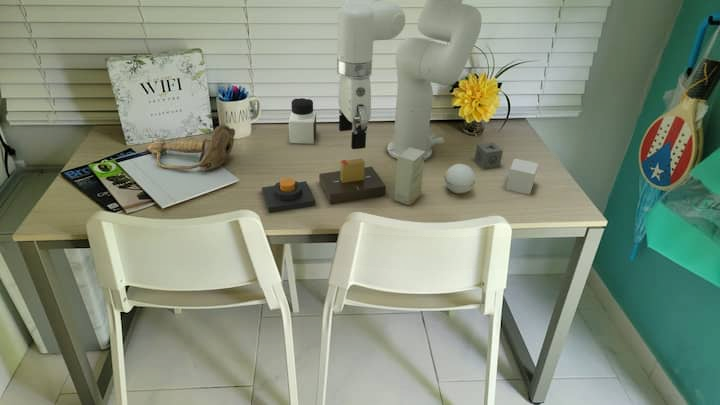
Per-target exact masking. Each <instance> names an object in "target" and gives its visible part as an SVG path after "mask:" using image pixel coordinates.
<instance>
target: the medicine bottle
mask: <svg viewBox="0 0 720 405" xmlns="http://www.w3.org/2000/svg"><path fill="white" fill-rule="evenodd" d="M288 133H289V134H288V135H289V143H290V144H300V145H301V144H303V145H304V144H305V145H314V144H315V143H316V138H317V112H316V111H314V101H313V100H312V99H311V98H309V97H305V96H304V97H303V96H301V97H296V98H294V99H292V100H291V112H290V116H289V119H288Z"/></svg>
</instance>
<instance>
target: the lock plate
mask: <svg viewBox="0 0 720 405" xmlns="http://www.w3.org/2000/svg"><path fill="white" fill-rule="evenodd" d="M318 175H319V176H318V177H319V185H320V188H321V189H322V191H323V194H324V195H325V197H326V199H327V201H328V203H329V205H338V204H343V203H349V202H357V201H363V200H369V199H376V198H377V199H378V198H384V197H386V191H387V185H386V184H385V183H384V181H383V180H382V178H381V176H379V173H377V171H376V170H375V168H374V167H373V166H365V168H364V180H360V181H353V182H346V183H342V181H341V179H340V170H336V171H330V172H329V171H328V172H321V173H319V174H318Z"/></svg>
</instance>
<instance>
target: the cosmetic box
mask: <svg viewBox="0 0 720 405" xmlns="http://www.w3.org/2000/svg"><path fill="white" fill-rule="evenodd" d="M424 157H425V151H422V150H419V149H416V148H412V147H408V148H407V149H406V150H405V151H403V152H402V153H401V154H400V155H399V156H398V158H397V159H396V173H395V186H394V199H393V200H394V201H395V202H398V203H401V204H404V205H407V206H411V205H412V204H413V203H414V202H415V201H416V200H417V199H418V198H419V197H420V196H421V194H422V186H423V185H422V184H423V176H424V165H425V160H424Z"/></svg>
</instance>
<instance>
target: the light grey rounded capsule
mask: <svg viewBox="0 0 720 405" xmlns="http://www.w3.org/2000/svg"><path fill="white" fill-rule="evenodd" d="M444 182H445V185H446V187H447V189H449V190H450V191H451V192H452V193H456V194H464V193H467V192H470V190H472V188H473V187H474V184H475V183H476V176H475V172H474V170H473V169H472V167H470V166H469V165H467V164H463V163H456V164H453V165H451V166H450V167H449V168H448V169H447V170H446V173H445V175H444Z"/></svg>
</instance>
